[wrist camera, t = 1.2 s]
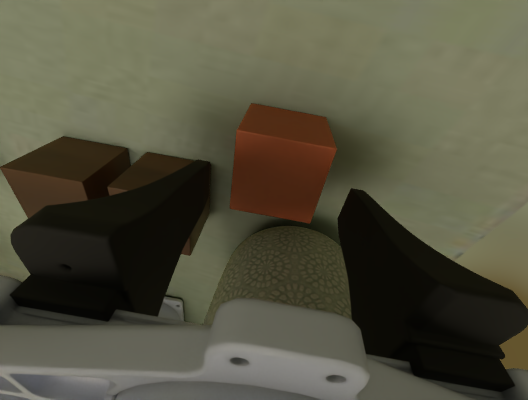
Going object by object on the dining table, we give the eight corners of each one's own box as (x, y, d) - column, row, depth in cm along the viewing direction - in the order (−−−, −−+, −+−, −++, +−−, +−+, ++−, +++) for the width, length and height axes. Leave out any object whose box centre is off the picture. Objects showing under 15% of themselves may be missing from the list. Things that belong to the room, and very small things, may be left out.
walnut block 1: (137, 199, 22) (101, 240, 18) (81, 189, 22) (32, 227, 18) (127, 148, 19) (81, 182, 15) (62, 136, 19) (-1, 166, 15)
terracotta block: (306, 181, 19) (310, 224, 15) (243, 169, 19) (229, 209, 15) (326, 117, 16) (337, 148, 12) (251, 102, 16) (236, 129, 12)
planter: (213, 271, 27) (173, 393, 18) (252, 183, 19) (217, 315, 11) (315, 304, 28) (325, 430, 20) (385, 235, 21) (449, 384, 12)
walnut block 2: (209, 213, 22) (190, 256, 18) (154, 202, 22) (122, 243, 18) (211, 163, 19) (188, 201, 15) (146, 151, 19) (106, 186, 15)
